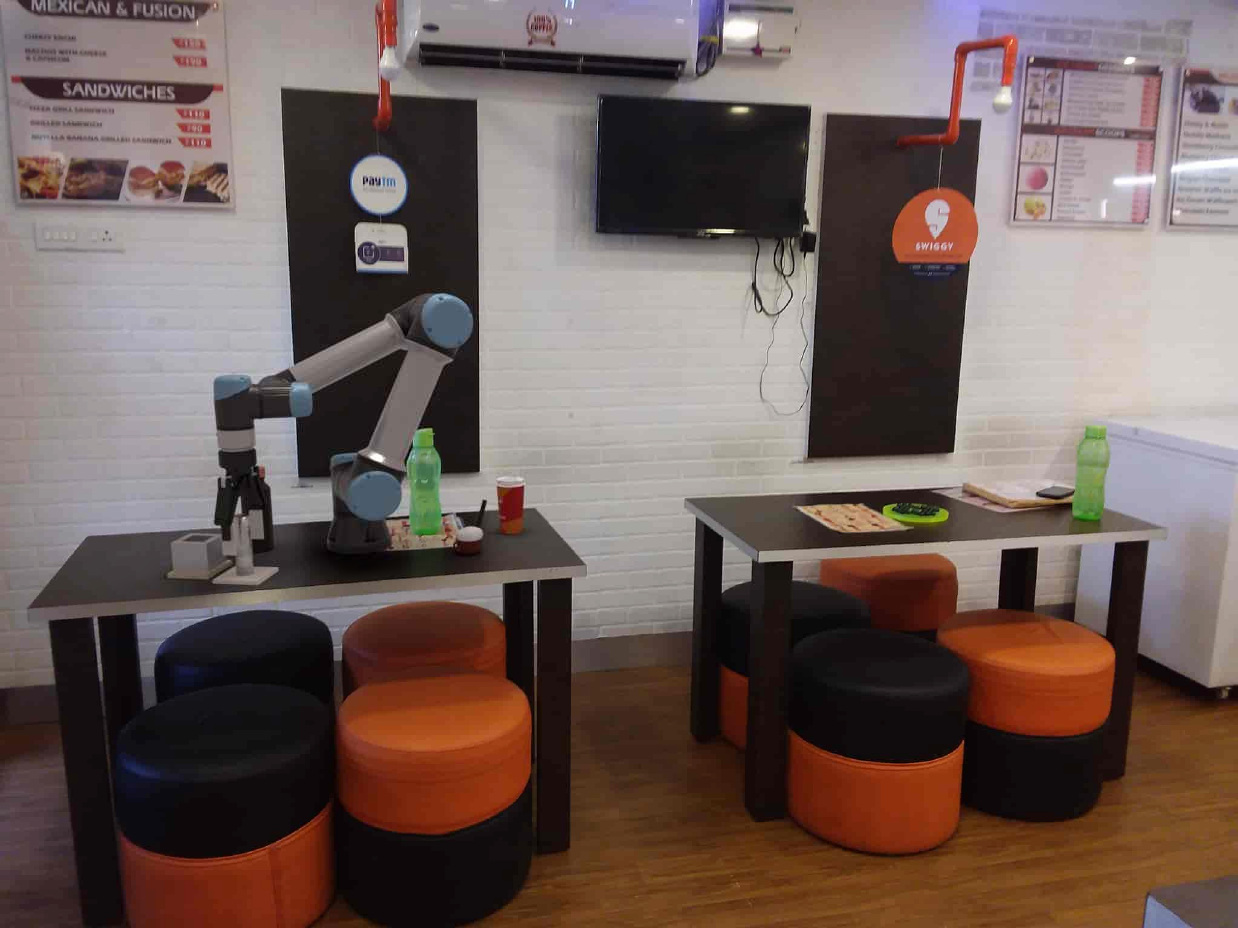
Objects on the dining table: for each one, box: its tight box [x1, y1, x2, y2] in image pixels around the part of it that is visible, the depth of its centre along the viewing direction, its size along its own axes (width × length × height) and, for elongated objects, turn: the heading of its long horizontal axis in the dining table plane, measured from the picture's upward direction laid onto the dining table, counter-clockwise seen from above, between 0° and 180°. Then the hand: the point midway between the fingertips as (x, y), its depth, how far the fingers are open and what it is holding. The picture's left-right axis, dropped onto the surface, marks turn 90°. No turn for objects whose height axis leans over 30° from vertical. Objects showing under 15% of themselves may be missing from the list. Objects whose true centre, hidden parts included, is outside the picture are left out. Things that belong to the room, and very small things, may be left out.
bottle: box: [239, 465, 275, 553], centre depth 225 cm, size 7×7×20 cm
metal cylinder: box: [232, 513, 255, 576], centre depth 204 cm, size 4×4×13 cm
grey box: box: [166, 532, 233, 581], centre depth 211 cm, size 9×16×8 cm, turn 175°
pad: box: [212, 565, 279, 586], centre depth 206 cm, size 10×10×1 cm
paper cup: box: [495, 476, 527, 536], centre depth 242 cm, size 8×8×14 cm
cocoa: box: [452, 499, 488, 556], centre depth 224 cm, size 10×6×12 cm, turn 111°
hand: (244, 546), depth 204 cm, fingers open, 12 cm apart
